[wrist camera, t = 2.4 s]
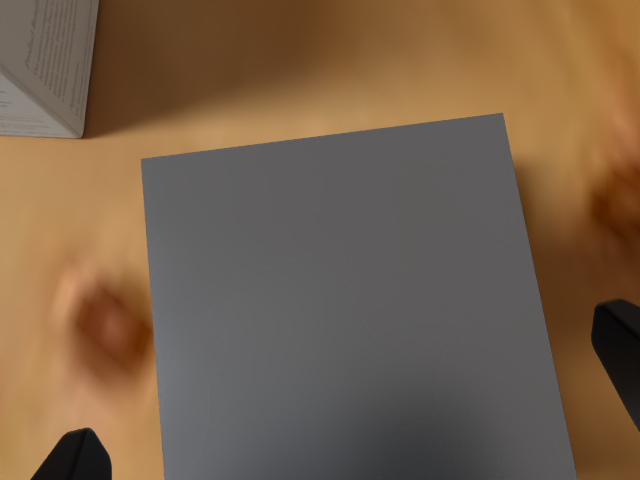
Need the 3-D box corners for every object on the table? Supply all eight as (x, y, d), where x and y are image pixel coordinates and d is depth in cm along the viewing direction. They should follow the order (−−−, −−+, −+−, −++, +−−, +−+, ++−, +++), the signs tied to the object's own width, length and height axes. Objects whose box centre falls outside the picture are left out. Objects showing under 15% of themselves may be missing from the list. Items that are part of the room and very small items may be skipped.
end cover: (440, 426, 18) (709, 595, 5) (250, 452, 18) (71, 685, 5) (410, 240, 19) (572, 20, 7) (231, 263, 19) (45, 85, 7)
